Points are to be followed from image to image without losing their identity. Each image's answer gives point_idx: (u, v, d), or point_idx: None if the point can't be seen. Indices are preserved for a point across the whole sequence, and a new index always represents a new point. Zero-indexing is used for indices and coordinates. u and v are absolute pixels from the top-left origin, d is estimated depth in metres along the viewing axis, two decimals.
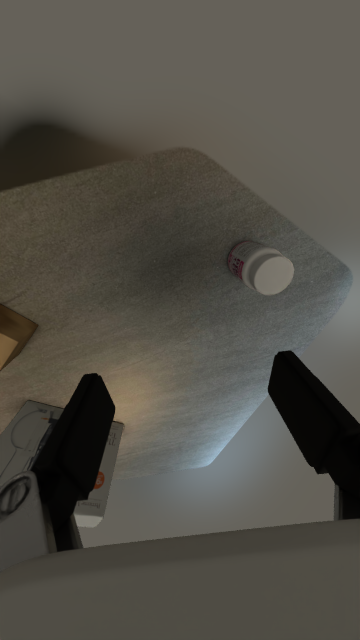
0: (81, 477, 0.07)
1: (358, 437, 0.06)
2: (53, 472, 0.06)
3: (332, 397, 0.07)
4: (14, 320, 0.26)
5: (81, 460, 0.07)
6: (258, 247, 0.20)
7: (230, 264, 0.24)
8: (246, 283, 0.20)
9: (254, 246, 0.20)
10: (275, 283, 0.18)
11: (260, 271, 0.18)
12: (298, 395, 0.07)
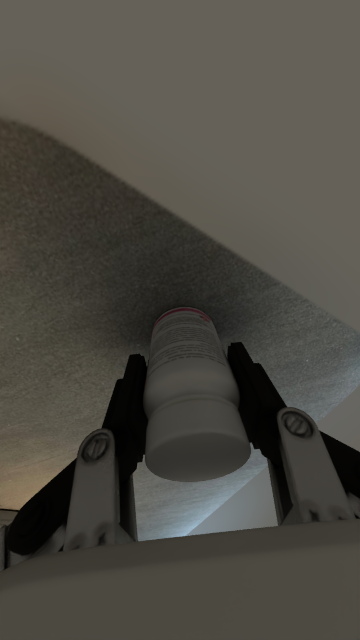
0: (140, 439, 0.08)
1: None
2: (123, 430, 0.07)
3: (262, 380, 0.07)
4: None
5: (139, 425, 0.08)
6: (176, 355, 0.08)
7: None
8: None
9: (174, 344, 0.09)
10: (205, 468, 0.07)
11: (156, 456, 0.06)
12: (240, 380, 0.08)
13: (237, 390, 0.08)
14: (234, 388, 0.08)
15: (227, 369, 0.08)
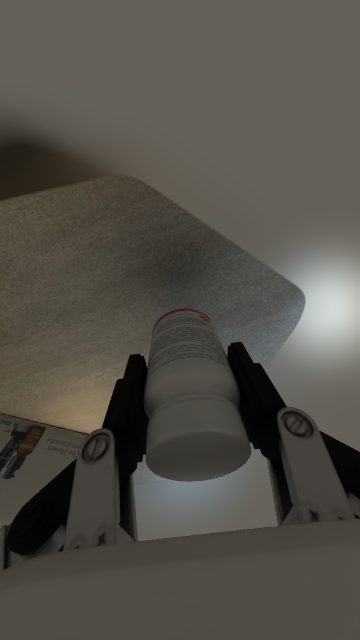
0: (140, 439, 0.08)
1: None
2: (123, 430, 0.07)
3: (261, 380, 0.07)
4: None
5: (139, 425, 0.08)
6: (177, 355, 0.08)
7: None
8: None
9: (174, 344, 0.09)
10: (206, 468, 0.07)
11: (157, 456, 0.06)
12: (239, 380, 0.08)
13: (237, 390, 0.08)
14: (234, 388, 0.08)
15: (227, 369, 0.08)
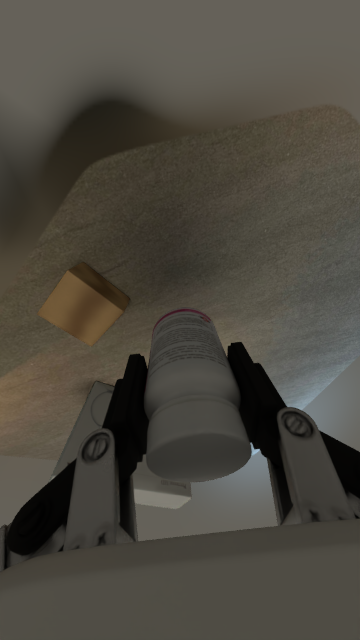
0: (140, 439, 0.08)
1: None
2: (123, 430, 0.07)
3: (262, 380, 0.07)
4: (113, 291, 0.26)
5: (139, 425, 0.08)
6: (177, 356, 0.08)
7: None
8: None
9: (175, 345, 0.09)
10: (206, 469, 0.07)
11: (157, 457, 0.06)
12: (240, 380, 0.08)
13: (238, 391, 0.08)
14: (235, 389, 0.08)
15: (228, 370, 0.08)
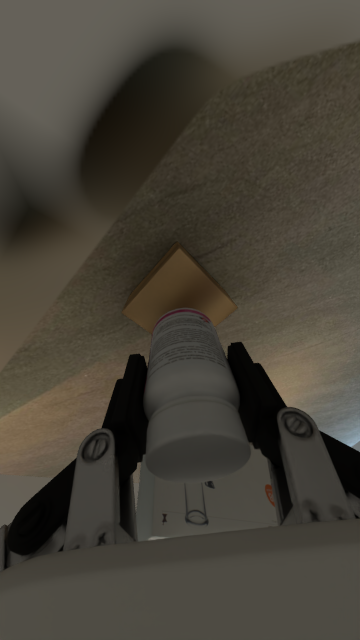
0: (140, 439, 0.08)
1: None
2: (123, 430, 0.07)
3: (262, 380, 0.07)
4: (214, 280, 0.19)
5: (139, 425, 0.08)
6: (176, 356, 0.08)
7: None
8: None
9: (174, 345, 0.09)
10: (206, 470, 0.07)
11: (156, 458, 0.06)
12: (240, 380, 0.08)
13: (237, 391, 0.08)
14: (234, 389, 0.08)
15: (227, 370, 0.08)
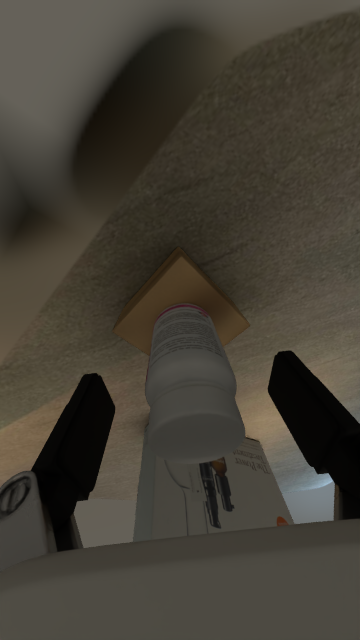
0: (81, 477, 0.07)
1: (358, 437, 0.06)
2: (53, 472, 0.06)
3: (332, 397, 0.07)
4: (221, 292, 0.16)
5: (81, 460, 0.07)
6: (176, 346, 0.09)
7: None
8: None
9: (174, 337, 0.10)
10: (204, 450, 0.08)
11: (158, 437, 0.07)
12: (298, 395, 0.08)
13: (233, 379, 0.09)
14: (230, 377, 0.08)
15: (224, 360, 0.09)
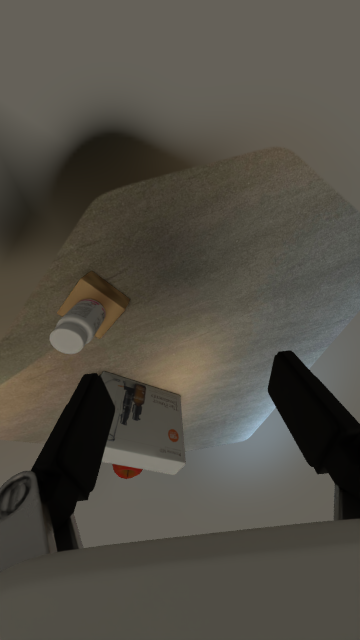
0: (81, 477, 0.07)
1: (358, 437, 0.06)
2: (53, 472, 0.06)
3: (332, 397, 0.07)
4: (116, 293, 0.32)
5: (81, 460, 0.07)
6: (67, 314, 0.24)
7: None
8: None
9: (70, 311, 0.25)
10: (70, 346, 0.23)
11: (52, 339, 0.22)
12: (298, 395, 0.07)
13: (87, 325, 0.24)
14: (85, 324, 0.24)
15: (85, 318, 0.24)
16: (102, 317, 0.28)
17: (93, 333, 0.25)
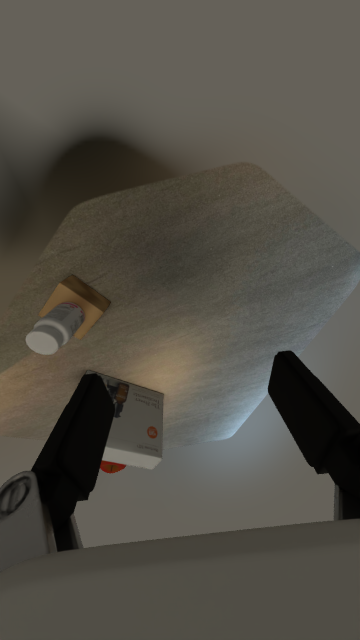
0: (81, 477, 0.07)
1: (358, 437, 0.06)
2: (53, 472, 0.06)
3: (332, 397, 0.07)
4: (96, 296, 0.33)
5: (81, 460, 0.07)
6: (44, 317, 0.26)
7: None
8: None
9: (47, 314, 0.26)
10: (46, 347, 0.24)
11: (28, 340, 0.24)
12: (298, 395, 0.07)
13: (63, 327, 0.25)
14: (60, 326, 0.25)
15: (61, 321, 0.26)
16: (80, 319, 0.30)
17: (69, 335, 0.27)
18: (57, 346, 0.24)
